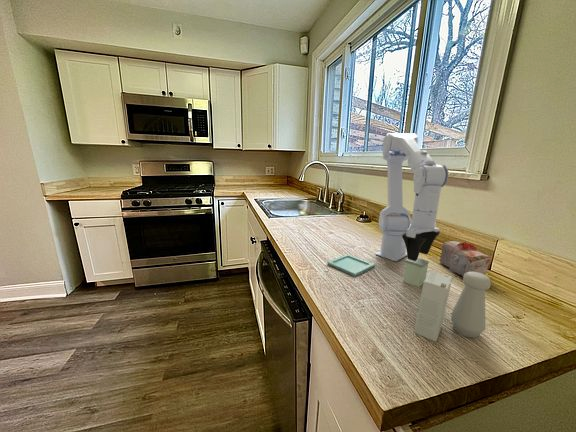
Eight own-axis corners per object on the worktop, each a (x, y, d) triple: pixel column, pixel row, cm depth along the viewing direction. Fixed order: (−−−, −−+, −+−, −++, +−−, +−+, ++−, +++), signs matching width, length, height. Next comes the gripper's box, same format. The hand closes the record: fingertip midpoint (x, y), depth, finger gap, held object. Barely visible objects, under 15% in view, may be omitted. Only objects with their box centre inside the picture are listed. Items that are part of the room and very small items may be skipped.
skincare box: (419, 318, 53) (427, 269, 51) (442, 327, 51) (453, 276, 48) (412, 333, 49) (421, 280, 46) (438, 344, 46) (448, 288, 43)
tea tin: (409, 276, 73) (412, 256, 71) (425, 282, 69) (428, 261, 68) (402, 280, 70) (405, 260, 68) (418, 287, 67) (422, 265, 65)
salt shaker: (489, 343, 46) (504, 283, 43) (456, 338, 47) (469, 280, 44) (473, 323, 52) (485, 269, 49) (444, 320, 53) (454, 266, 50)
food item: (490, 282, 70) (498, 251, 68) (465, 282, 70) (472, 251, 67) (456, 262, 83) (461, 236, 81) (434, 262, 83) (439, 236, 81)
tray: (347, 256, 87) (347, 253, 87) (374, 266, 79) (374, 264, 78) (327, 264, 80) (327, 261, 80) (354, 276, 72) (355, 273, 72)
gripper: (430, 216, 57) (422, 268, 60) (450, 209, 66) (442, 254, 69) (401, 211, 62) (395, 259, 66) (424, 205, 71) (417, 247, 75)
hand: (417, 256), depth 68 cm, fingers open, 7 cm apart
